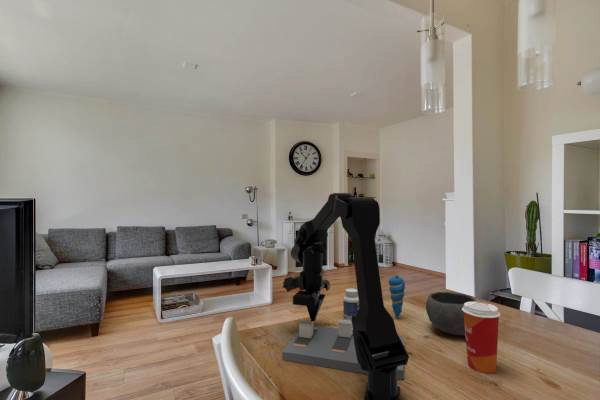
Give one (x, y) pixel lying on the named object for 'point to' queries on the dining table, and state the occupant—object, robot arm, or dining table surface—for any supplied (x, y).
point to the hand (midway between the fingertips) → (313, 321)
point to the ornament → (397, 294)
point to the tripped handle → (306, 329)
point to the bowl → (448, 311)
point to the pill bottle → (350, 303)
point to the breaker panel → (328, 351)
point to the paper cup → (481, 335)
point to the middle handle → (345, 328)
